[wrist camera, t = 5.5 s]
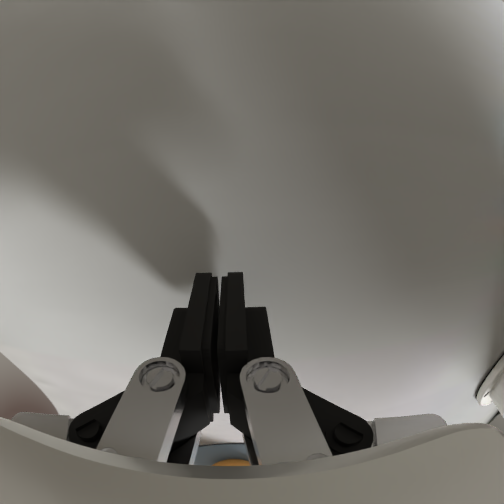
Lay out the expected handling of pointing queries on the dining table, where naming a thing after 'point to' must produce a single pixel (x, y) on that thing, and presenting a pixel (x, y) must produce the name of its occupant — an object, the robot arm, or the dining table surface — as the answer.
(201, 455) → the disc
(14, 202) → the dining table surface
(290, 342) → the dining table surface
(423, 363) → the dining table surface
